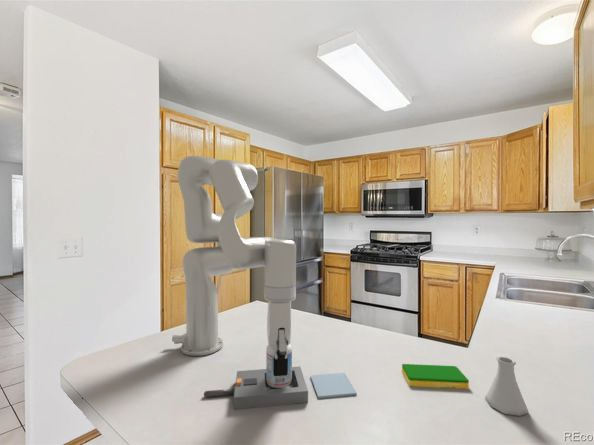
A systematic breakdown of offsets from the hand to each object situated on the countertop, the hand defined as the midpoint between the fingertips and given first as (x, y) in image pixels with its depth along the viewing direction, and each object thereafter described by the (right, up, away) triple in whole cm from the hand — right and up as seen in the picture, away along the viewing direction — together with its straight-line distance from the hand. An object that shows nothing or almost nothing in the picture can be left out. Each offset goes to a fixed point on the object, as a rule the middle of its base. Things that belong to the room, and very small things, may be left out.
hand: (279, 366), depth 69 cm
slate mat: (+13, -5, +1) cm, 14 cm away
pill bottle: (0, -4, 0) cm, 4 cm away
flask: (+49, -5, -6) cm, 50 cm away
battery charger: (-6, -5, -1) cm, 8 cm away
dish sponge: (+39, -6, +4) cm, 39 cm away
